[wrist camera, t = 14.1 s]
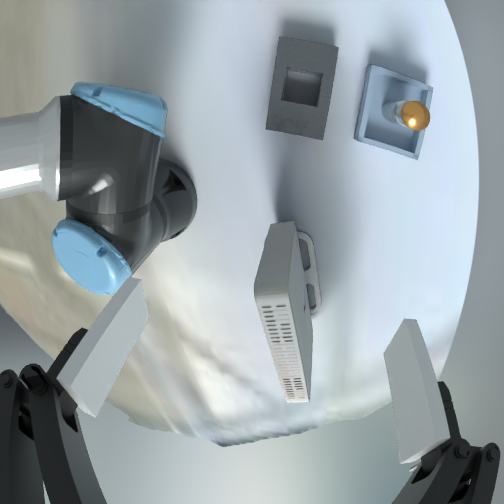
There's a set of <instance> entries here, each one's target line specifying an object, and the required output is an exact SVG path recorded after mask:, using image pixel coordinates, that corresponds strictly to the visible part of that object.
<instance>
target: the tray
mask: <svg viewBox="0 0 504 504" xmlns="http://www.w3.org/2000/svg"><path fill="white" fill-rule="evenodd" d="M432 92H433V87H431V86H429V85H426V84H424V83H422V82H419V81H417V80H414V79H412V78H410V77H407V76H404V75H402V74H399V73H396V72H394V71H391V70H388V69H385V68H382V67H379V66H376V65H373V64H371V65H369V66H367V70H366V77H365V83H364V89H363V94H362V100H361V105H360V111H359V116H358V121H357V126H356V131H355V135H354V139H355V140H357V141H359V142H362V143H366V144H369V145H373V146H376V147H380V148H383V149H386V150H389V151H392V152H395V153H398V154H401V155H404V156H407V157H410V158H413V159H416V160H418V158H419V154H420V150H421V146H422V142H423V137H424V133H425V129H426V128H425V129H423V130H420V131H417V130H413V129H410V128H408V127H405V126H401V125H398V124H394V123H391V122H388V121H387V120H386V119H385V118H384V117H383V115H382V106H383V104H384V103H385V102H386V101H389V100H402V101H419V102H421V103H423V104H424V105H425V106H426V107H427V109H428V111H429V109H430V104H431V98H432Z"/></svg>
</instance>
